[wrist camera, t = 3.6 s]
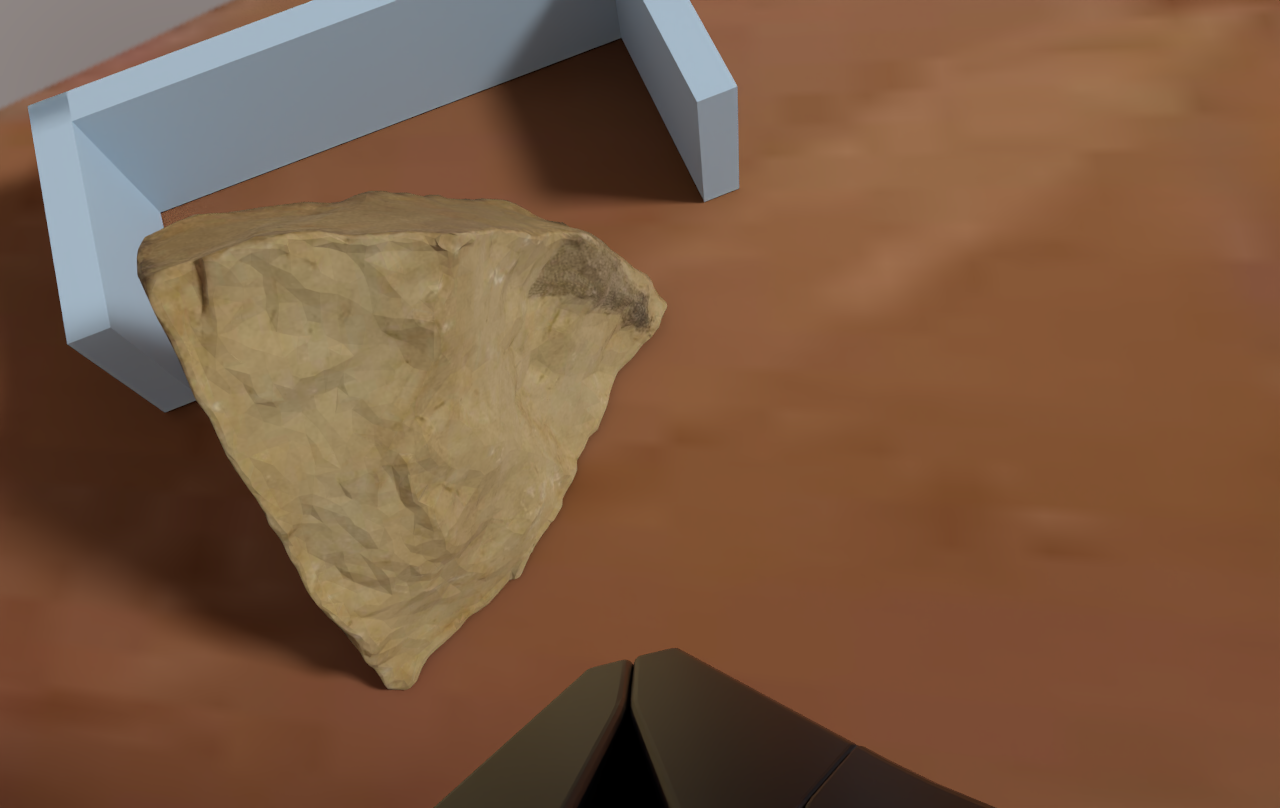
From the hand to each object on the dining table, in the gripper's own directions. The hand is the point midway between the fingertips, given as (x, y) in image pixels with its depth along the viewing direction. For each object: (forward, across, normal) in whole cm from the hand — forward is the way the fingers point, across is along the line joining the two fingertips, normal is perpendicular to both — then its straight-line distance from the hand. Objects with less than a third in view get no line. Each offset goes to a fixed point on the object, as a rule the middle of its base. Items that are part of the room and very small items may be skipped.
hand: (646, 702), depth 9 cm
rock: (+16, -3, -3) cm, 16 cm away
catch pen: (+20, -4, +3) cm, 21 cm away
